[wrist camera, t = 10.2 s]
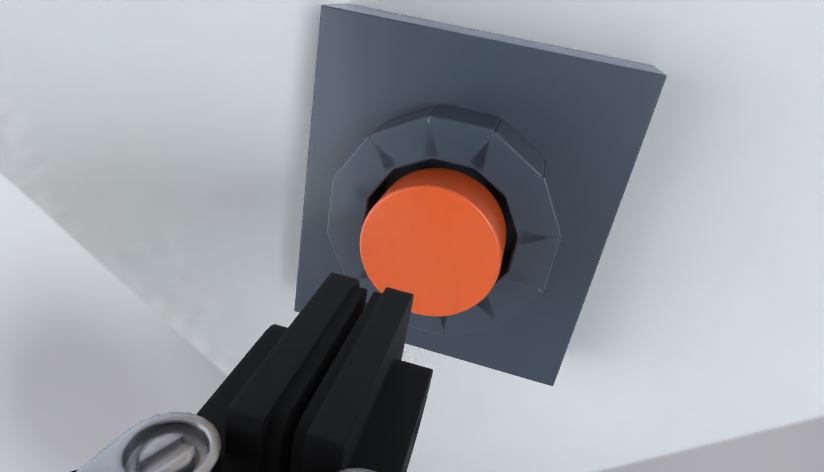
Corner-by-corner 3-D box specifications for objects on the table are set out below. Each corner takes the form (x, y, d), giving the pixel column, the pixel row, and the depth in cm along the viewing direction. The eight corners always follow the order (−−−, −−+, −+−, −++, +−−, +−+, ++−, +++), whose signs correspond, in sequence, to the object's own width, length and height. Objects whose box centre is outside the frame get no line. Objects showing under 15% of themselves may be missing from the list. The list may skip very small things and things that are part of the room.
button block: (553, 351, 21) (552, 421, 18) (316, 284, 23) (272, 337, 19) (654, 65, 17) (681, 85, 13) (346, 3, 18) (294, 5, 14)
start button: (489, 303, 17) (482, 333, 16) (368, 269, 18) (350, 296, 16) (521, 184, 15) (517, 206, 14) (387, 152, 16) (368, 169, 14)
